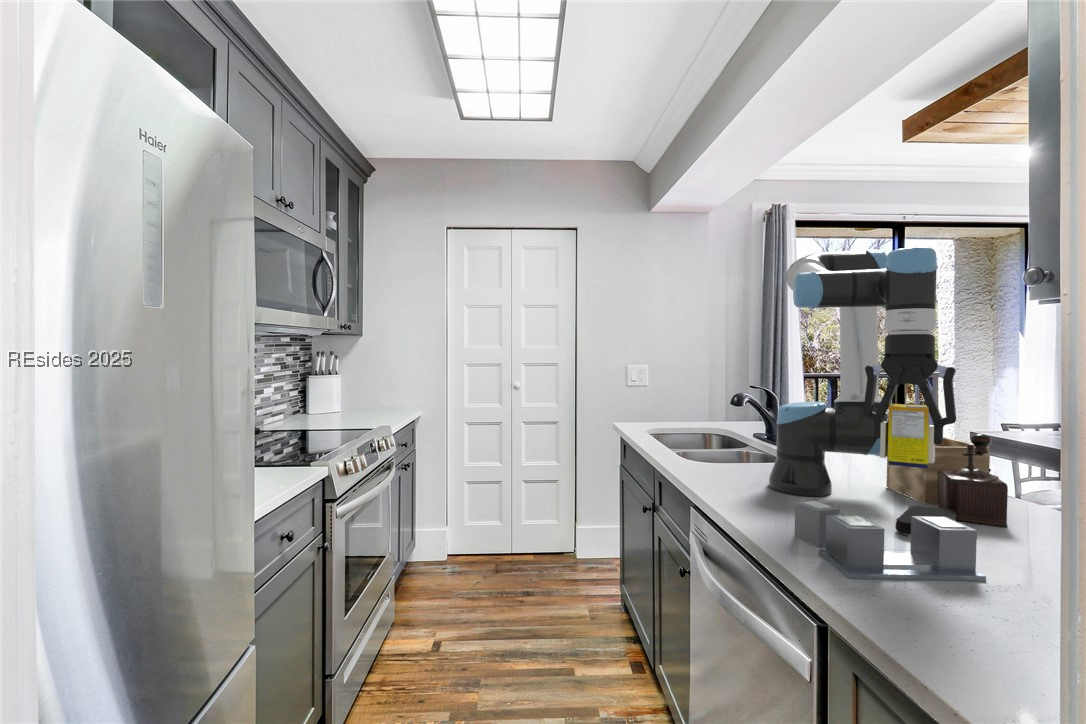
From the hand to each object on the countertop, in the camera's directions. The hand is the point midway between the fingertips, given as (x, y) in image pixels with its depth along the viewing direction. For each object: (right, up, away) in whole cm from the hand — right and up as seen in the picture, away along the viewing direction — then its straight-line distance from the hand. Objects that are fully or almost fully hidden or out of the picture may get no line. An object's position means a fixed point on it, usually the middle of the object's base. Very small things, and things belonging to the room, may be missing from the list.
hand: (906, 459), depth 95 cm
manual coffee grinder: (+31, -17, +24) cm, 42 cm away
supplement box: (0, -1, 0) cm, 1 cm away
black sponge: (+14, -18, +14) cm, 26 cm away
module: (-13, -17, +7) cm, 23 cm away
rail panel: (-5, -18, -5) cm, 19 cm away
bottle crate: (+34, -17, +39) cm, 54 cm away
